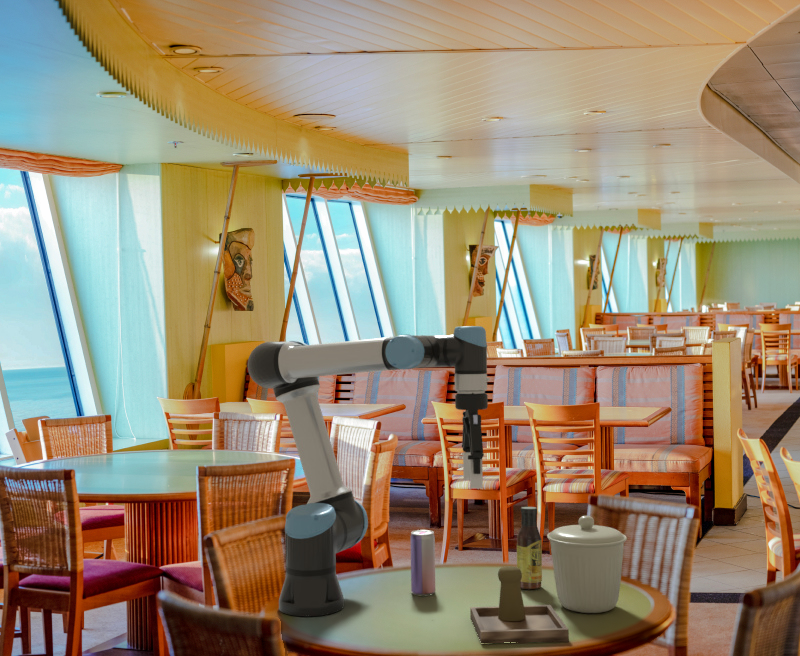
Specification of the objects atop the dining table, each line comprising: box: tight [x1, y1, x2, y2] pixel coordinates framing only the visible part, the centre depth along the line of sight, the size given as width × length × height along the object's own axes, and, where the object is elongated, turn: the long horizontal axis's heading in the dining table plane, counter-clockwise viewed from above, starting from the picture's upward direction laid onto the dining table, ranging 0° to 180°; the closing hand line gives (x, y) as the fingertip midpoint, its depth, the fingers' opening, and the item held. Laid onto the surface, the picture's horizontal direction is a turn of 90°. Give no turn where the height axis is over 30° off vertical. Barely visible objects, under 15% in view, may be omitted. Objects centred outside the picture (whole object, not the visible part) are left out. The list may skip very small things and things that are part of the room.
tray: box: [469, 604, 570, 644], centre depth 196 cm, size 18×18×2 cm
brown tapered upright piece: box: [497, 565, 526, 621], centre depth 201 cm, size 6×6×11 cm
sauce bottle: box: [516, 506, 543, 590], centre depth 231 cm, size 7×6×20 cm
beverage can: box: [409, 529, 436, 596], centre depth 226 cm, size 6×6×15 cm
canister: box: [546, 515, 628, 614], centre depth 212 cm, size 18×18×21 cm
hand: (472, 483), depth 213 cm, fingers open, 13 cm apart
